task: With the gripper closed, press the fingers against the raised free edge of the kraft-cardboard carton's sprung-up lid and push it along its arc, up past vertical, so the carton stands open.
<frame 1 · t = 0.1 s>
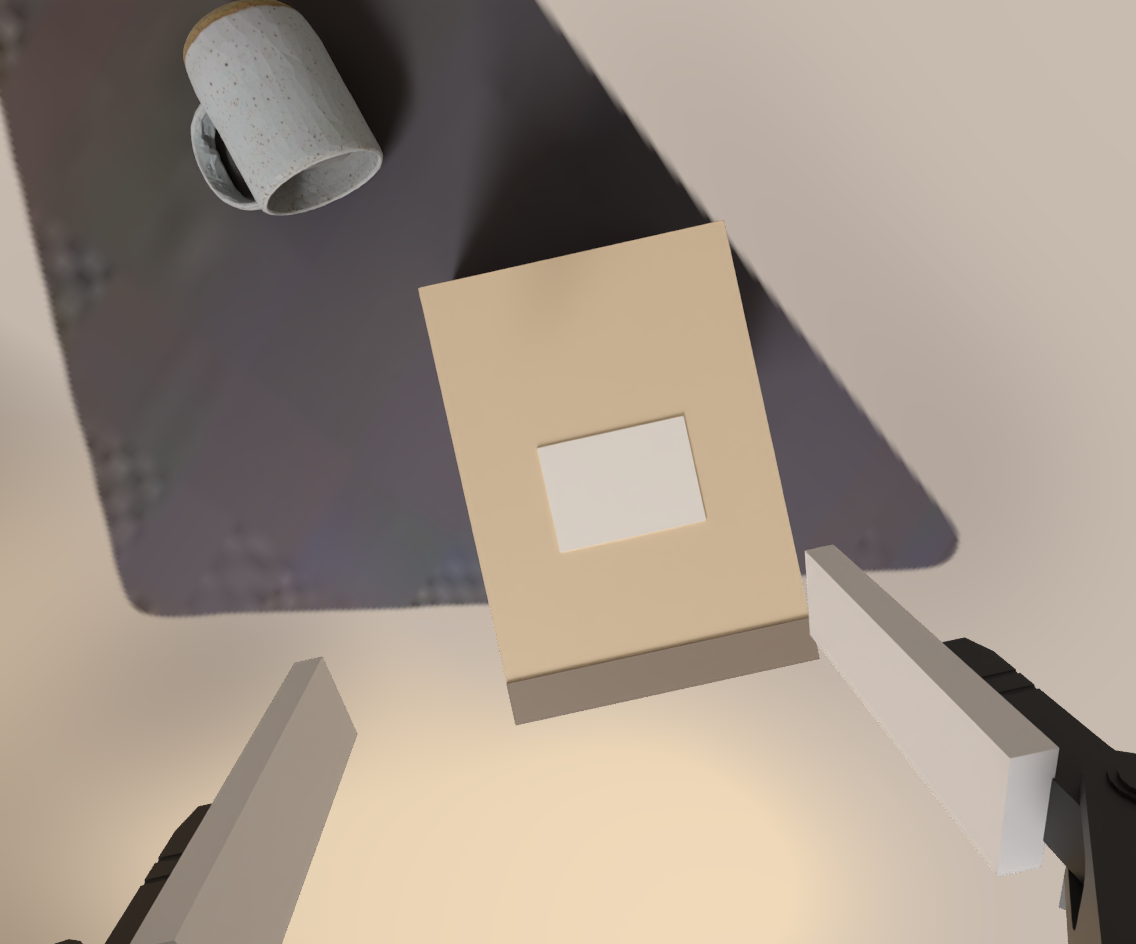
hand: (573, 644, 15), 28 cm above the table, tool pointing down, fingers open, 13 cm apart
carton lid: (618, 473, 26), point 16 cm above the table, hinge at 20.0°
ceramic mug: (296, 146, 35), on the table
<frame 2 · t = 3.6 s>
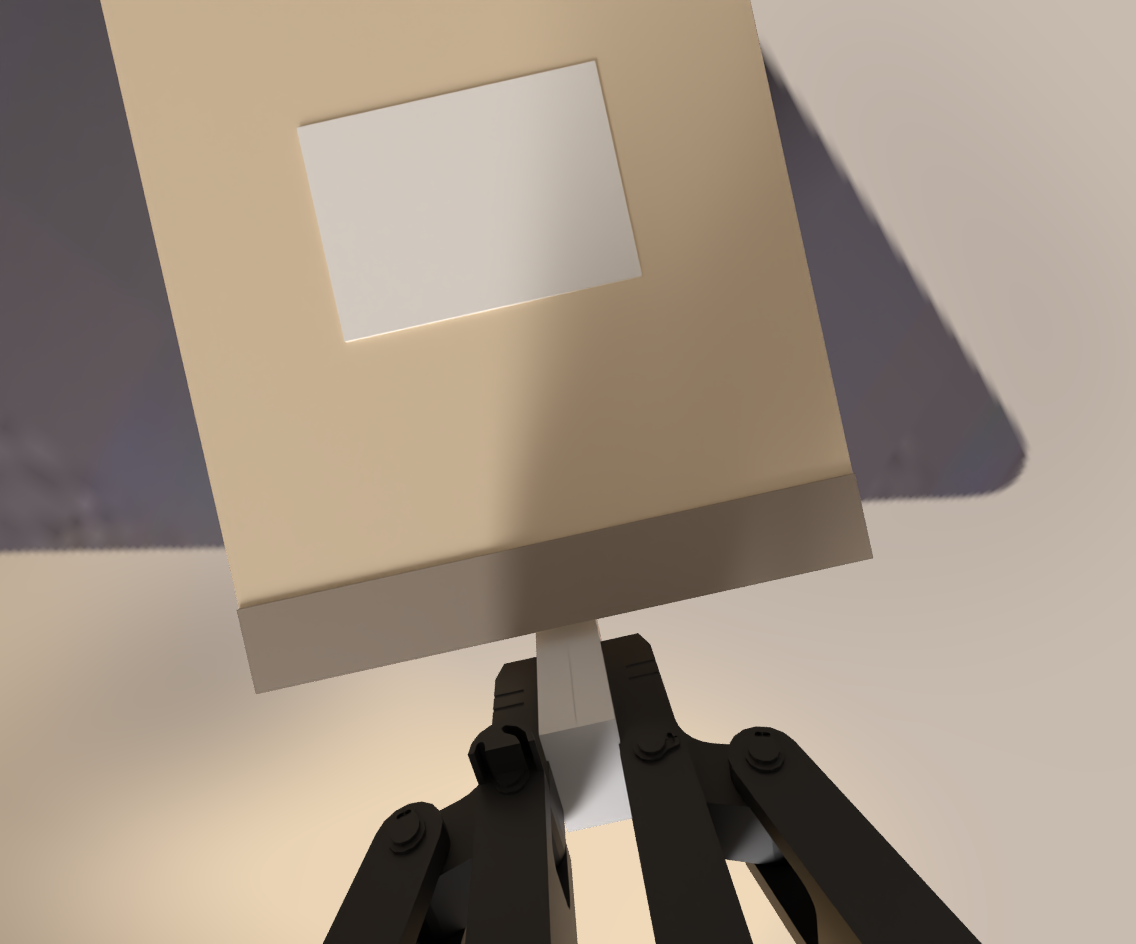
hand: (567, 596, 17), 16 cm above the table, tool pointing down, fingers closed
carton lid: (468, 189, 13), point 16 cm above the table, hinge at 20.7°, touching gripper
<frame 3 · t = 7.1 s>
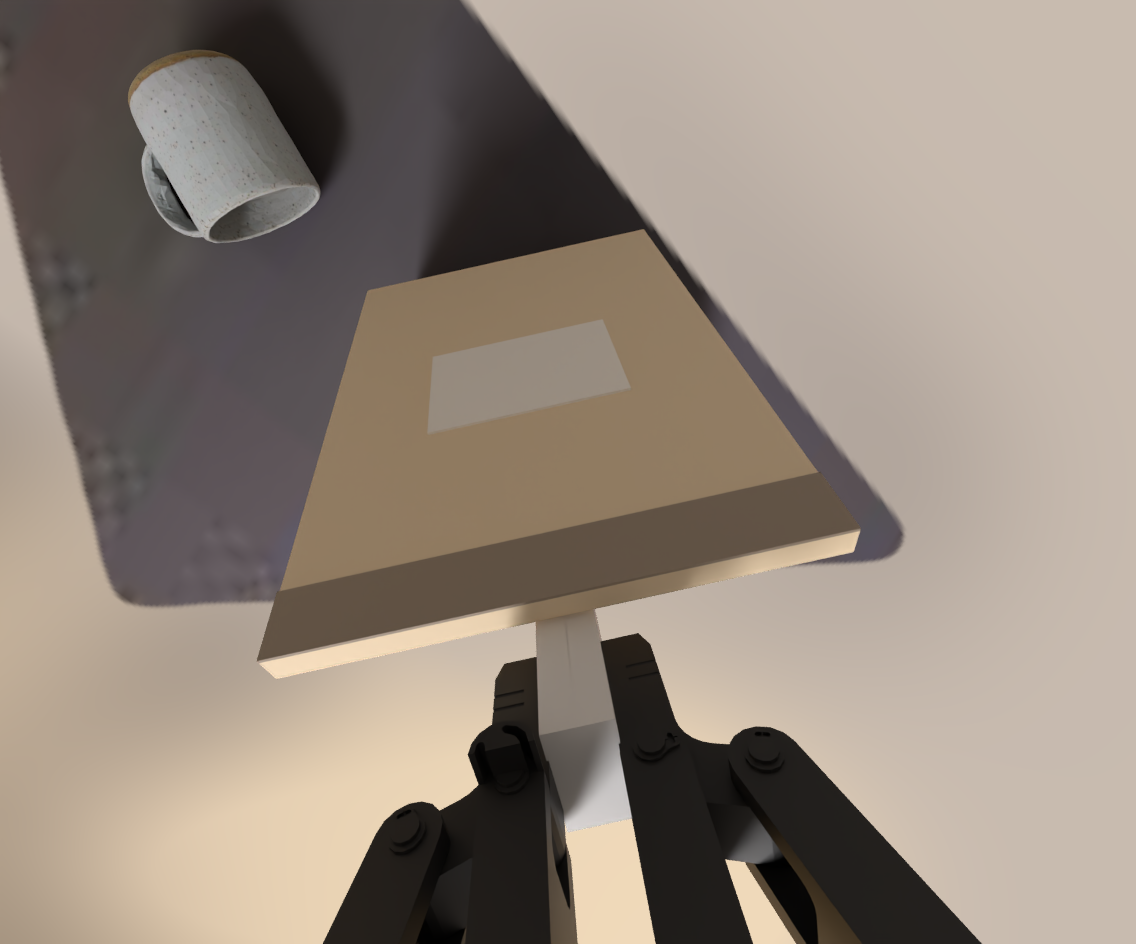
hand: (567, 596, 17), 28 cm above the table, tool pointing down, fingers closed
carton lid: (524, 373, 21), point 22 cm above the table, hinge at 68.1°, touching gripper
ceramic mug: (242, 177, 37), on the table
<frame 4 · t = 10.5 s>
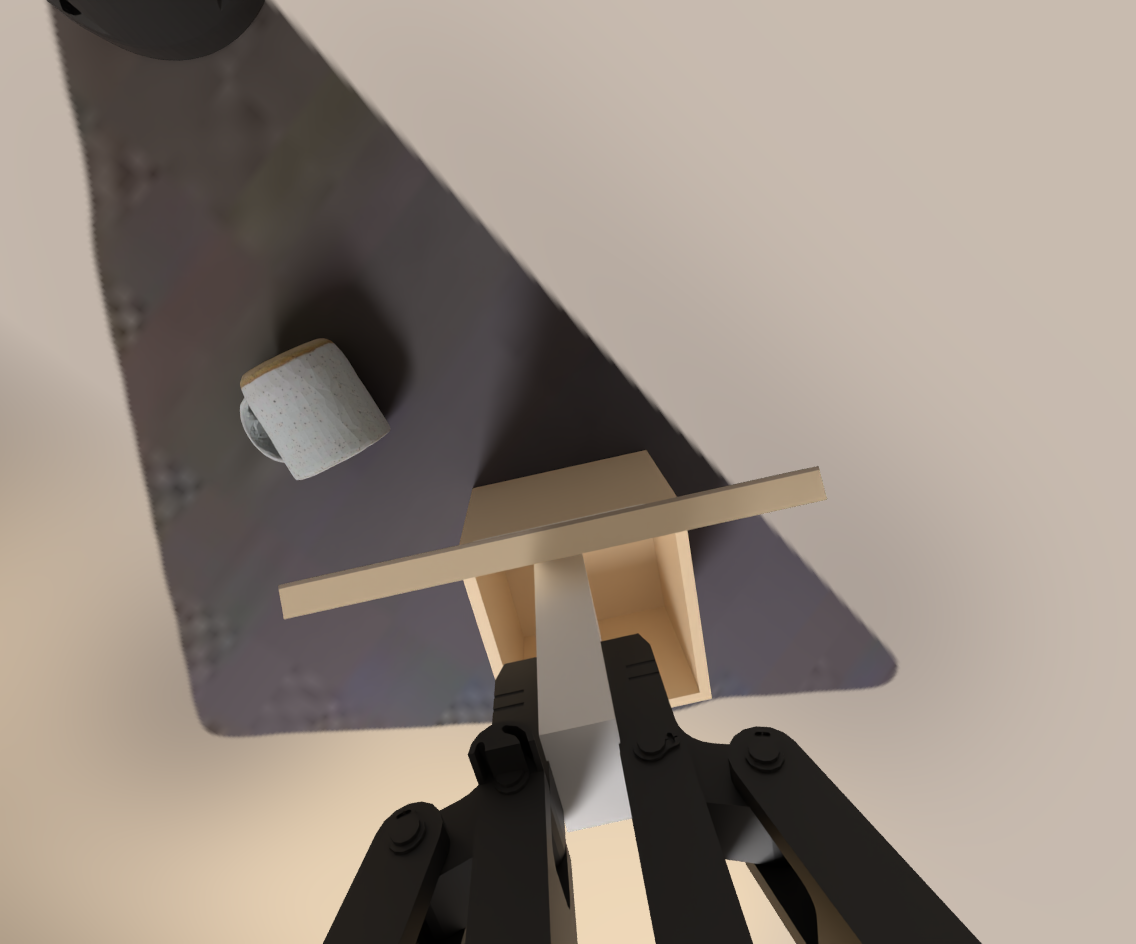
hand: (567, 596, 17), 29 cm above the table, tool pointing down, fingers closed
carton lid: (563, 531, 25), point 21 cm above the table, hinge at 115.6°, touching gripper
ceramic mug: (321, 406, 44), on the table
carton: (578, 550, 50), on the table
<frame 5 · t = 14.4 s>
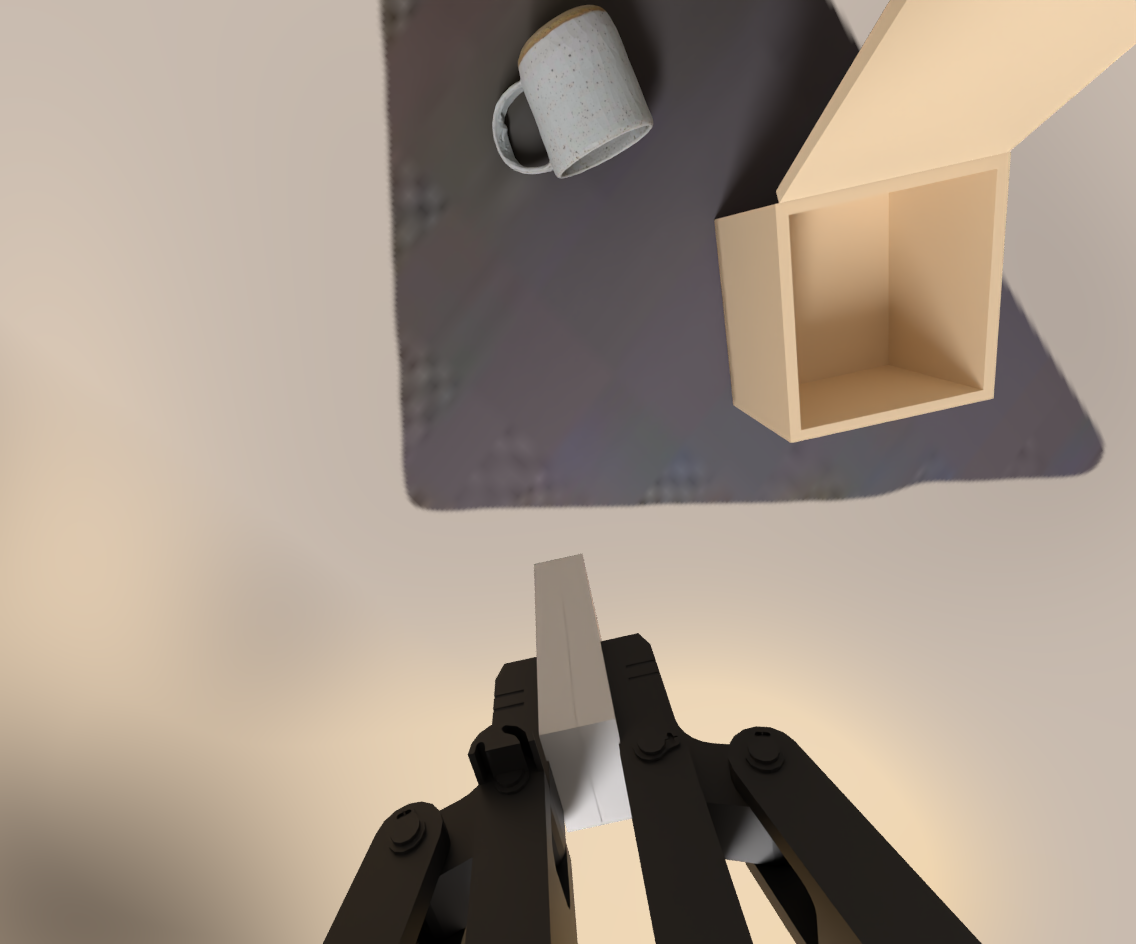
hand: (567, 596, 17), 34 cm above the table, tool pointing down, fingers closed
carton lid: (1027, 19, 24), point 21 cm above the table, hinge at 115.6°
ceramic mug: (564, 123, 43), on the table
carton: (808, 299, 48), on the table
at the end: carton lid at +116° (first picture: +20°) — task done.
